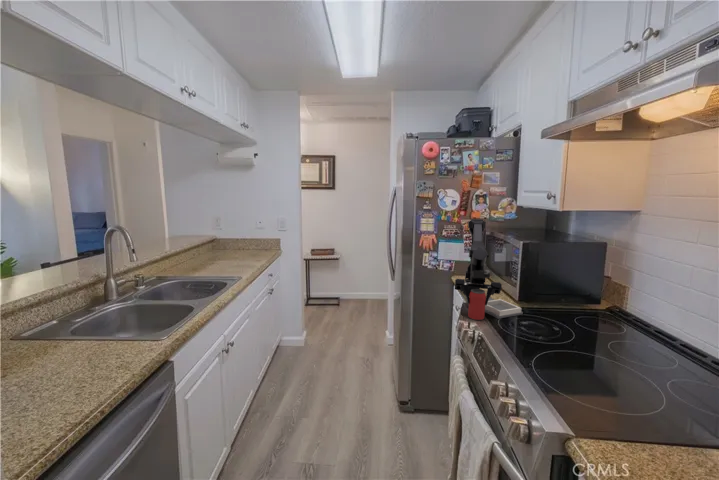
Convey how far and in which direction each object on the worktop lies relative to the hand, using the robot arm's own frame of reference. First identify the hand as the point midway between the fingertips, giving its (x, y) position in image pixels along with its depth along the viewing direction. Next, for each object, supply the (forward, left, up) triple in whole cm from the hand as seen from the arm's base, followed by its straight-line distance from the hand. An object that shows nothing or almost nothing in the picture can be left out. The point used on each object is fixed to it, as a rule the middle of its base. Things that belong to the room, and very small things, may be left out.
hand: (477, 304), depth 133 cm
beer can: (-1, +1, -7) cm, 7 cm away
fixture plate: (-7, +16, -7) cm, 19 cm away
